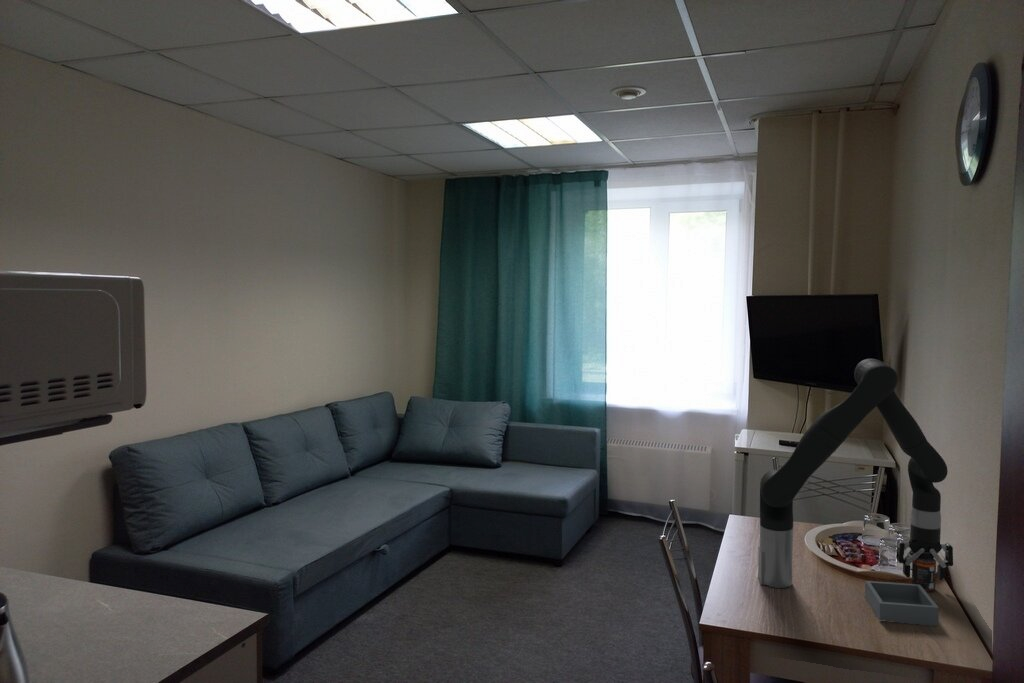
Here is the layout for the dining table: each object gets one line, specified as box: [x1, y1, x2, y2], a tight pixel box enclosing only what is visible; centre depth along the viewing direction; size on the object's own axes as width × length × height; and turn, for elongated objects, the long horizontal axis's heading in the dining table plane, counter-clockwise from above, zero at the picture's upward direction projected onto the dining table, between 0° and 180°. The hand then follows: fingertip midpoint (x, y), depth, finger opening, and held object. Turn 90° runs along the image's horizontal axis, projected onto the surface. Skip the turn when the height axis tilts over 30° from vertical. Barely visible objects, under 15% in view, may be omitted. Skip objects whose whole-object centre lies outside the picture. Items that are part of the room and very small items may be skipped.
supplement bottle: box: [911, 552, 937, 593], centre depth 204 cm, size 6×6×11 cm
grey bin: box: [864, 580, 940, 627], centre depth 191 cm, size 14×14×5 cm
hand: (923, 577), depth 204 cm, fingers open, 8 cm apart
